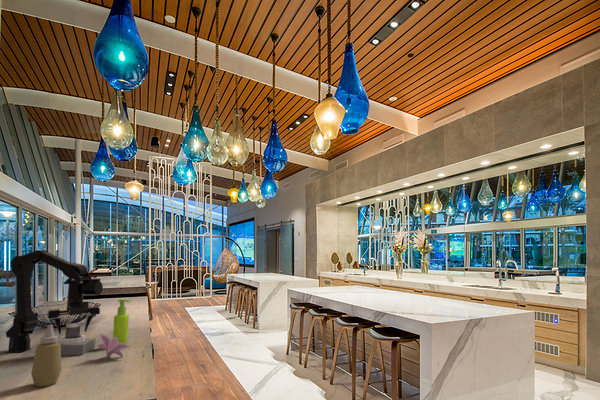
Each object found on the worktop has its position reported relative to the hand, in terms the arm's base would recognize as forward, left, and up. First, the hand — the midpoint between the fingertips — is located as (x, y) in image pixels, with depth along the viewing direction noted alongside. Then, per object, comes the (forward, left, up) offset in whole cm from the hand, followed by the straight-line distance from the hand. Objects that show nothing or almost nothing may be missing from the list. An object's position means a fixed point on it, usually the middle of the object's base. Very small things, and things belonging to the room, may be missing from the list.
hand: (72, 333), depth 164 cm
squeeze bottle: (+11, -41, -8) cm, 43 cm away
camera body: (0, 0, -8) cm, 8 cm away
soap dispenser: (+17, +8, -8) cm, 20 cm away
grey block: (0, 0, -4) cm, 4 cm away
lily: (+21, -13, -8) cm, 26 cm away
